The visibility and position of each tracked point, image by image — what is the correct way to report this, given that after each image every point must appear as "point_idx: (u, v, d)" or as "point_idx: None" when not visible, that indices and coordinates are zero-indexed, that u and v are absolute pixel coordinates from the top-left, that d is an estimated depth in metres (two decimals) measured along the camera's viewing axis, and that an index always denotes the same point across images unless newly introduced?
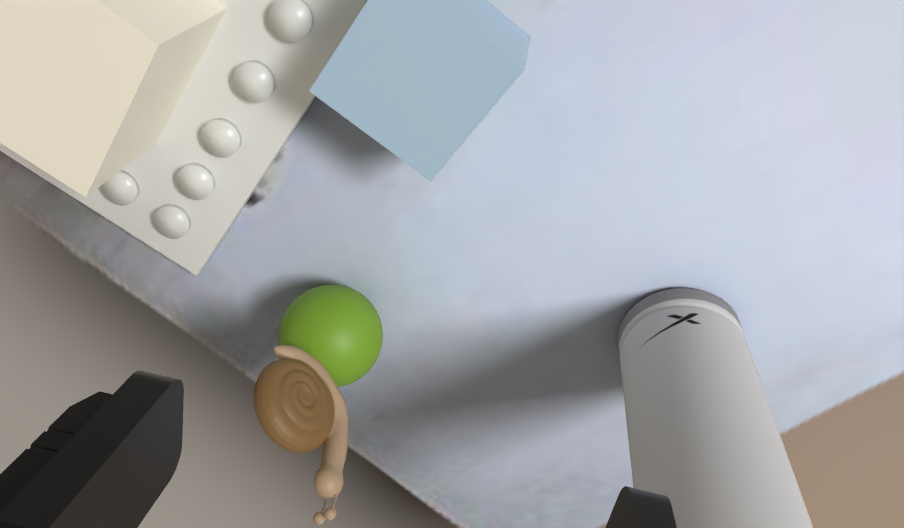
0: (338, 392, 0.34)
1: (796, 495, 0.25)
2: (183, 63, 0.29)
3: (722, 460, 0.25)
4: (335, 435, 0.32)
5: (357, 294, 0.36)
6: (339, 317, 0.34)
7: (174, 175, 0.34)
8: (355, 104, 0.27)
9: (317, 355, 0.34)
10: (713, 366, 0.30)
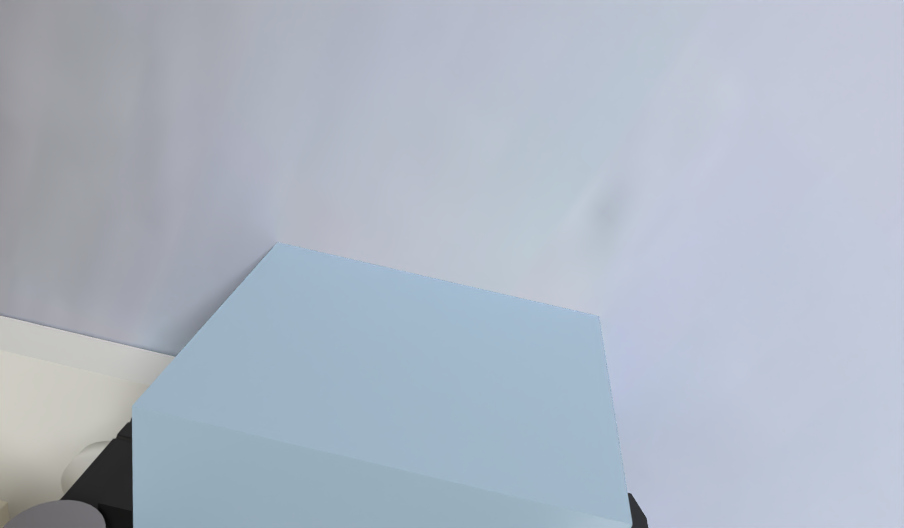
0: None
1: None
2: None
3: None
4: None
5: None
6: None
7: None
8: None
9: None
10: None
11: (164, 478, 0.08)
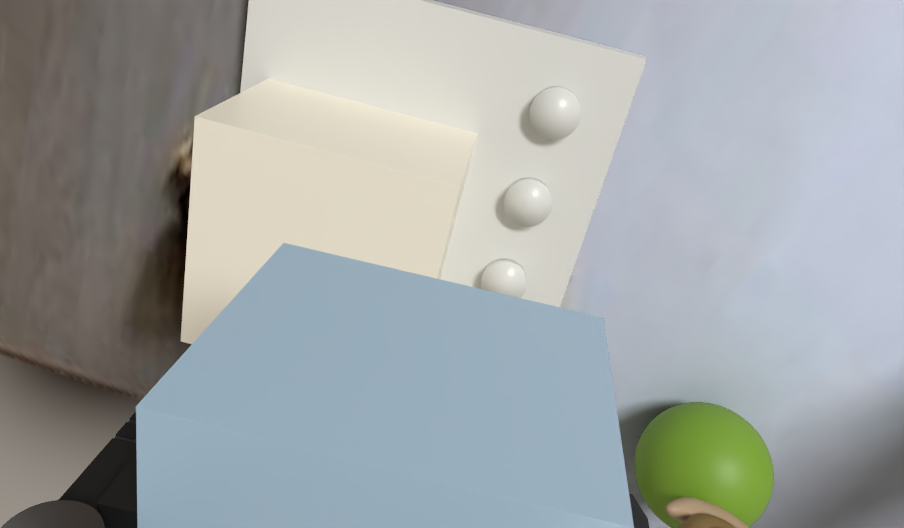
0: None
1: None
2: (457, 209, 0.24)
3: None
4: None
5: (716, 406, 0.28)
6: (719, 442, 0.26)
7: None
8: None
9: (714, 500, 0.26)
10: None
11: (167, 477, 0.09)
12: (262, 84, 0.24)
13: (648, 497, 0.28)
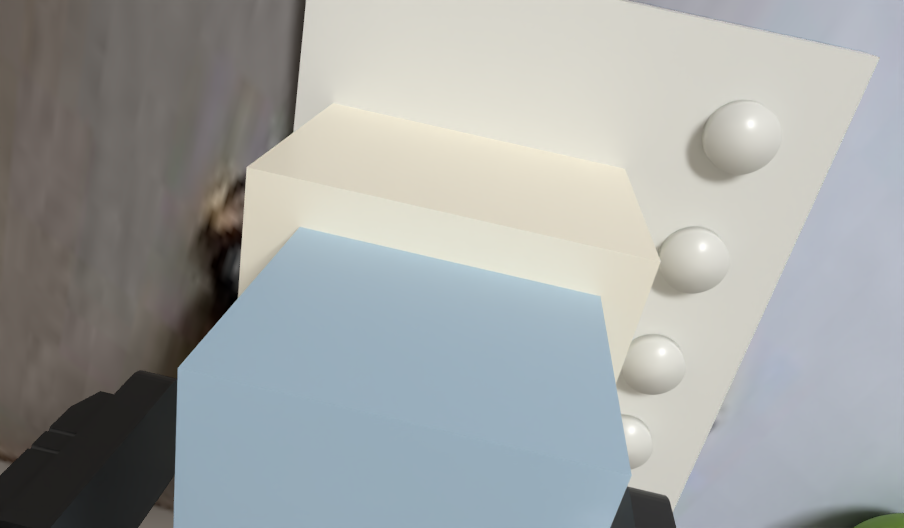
0: None
1: None
2: None
3: None
4: None
5: None
6: None
7: None
8: None
9: None
10: None
11: (204, 435, 0.09)
12: (328, 111, 0.18)
13: None
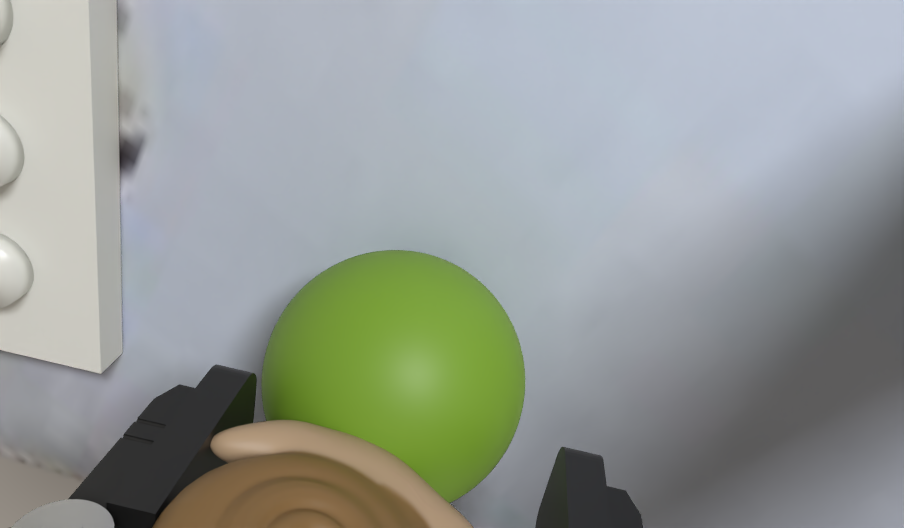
0: (445, 508, 0.11)
1: None
2: None
3: None
4: None
5: (413, 252, 0.14)
6: (376, 304, 0.12)
7: None
8: None
9: (352, 426, 0.12)
10: None
11: None
12: None
13: None
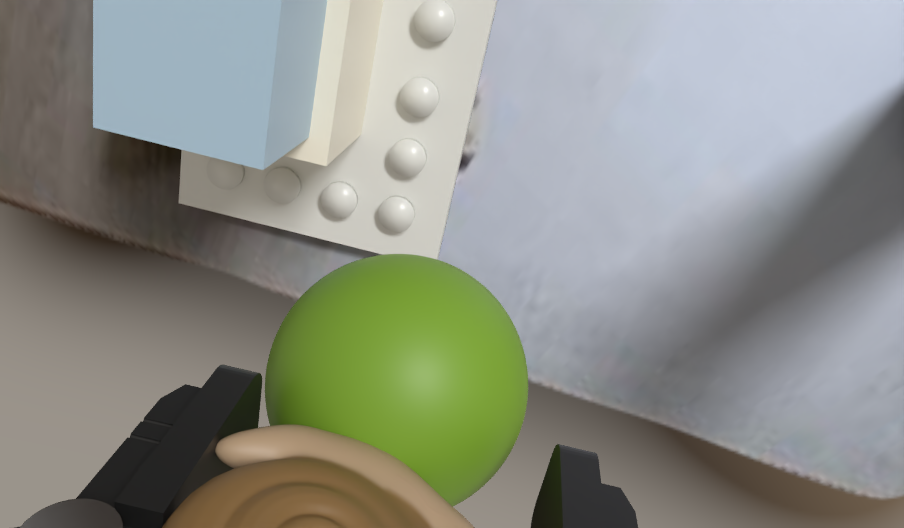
0: (450, 512, 0.11)
1: None
2: (370, 16, 0.29)
3: None
4: None
5: (416, 255, 0.14)
6: (379, 309, 0.12)
7: (385, 162, 0.34)
8: (143, 118, 0.23)
9: (357, 430, 0.12)
10: None
11: None
12: None
13: None
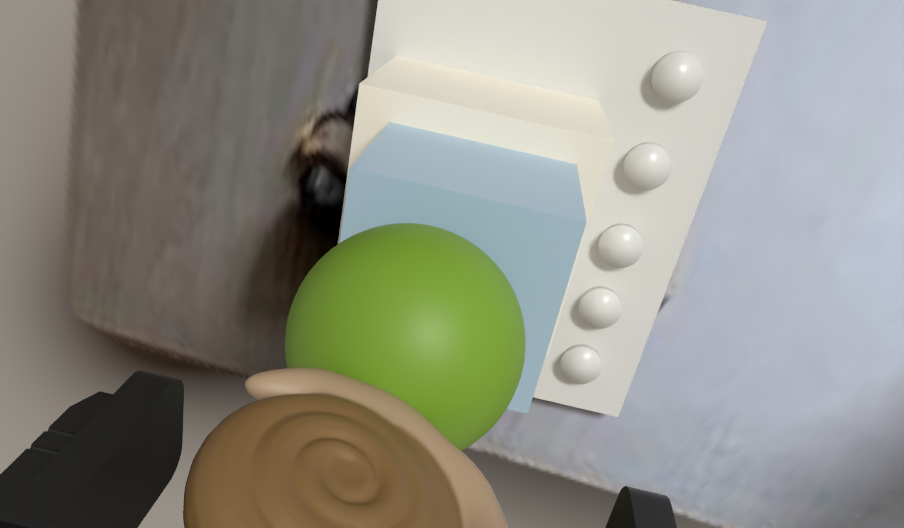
0: (453, 450, 0.13)
1: None
2: None
3: None
4: None
5: (426, 225, 0.15)
6: (394, 268, 0.14)
7: (572, 311, 0.30)
8: None
9: (370, 376, 0.13)
10: None
11: (359, 208, 0.17)
12: (395, 60, 0.26)
13: None
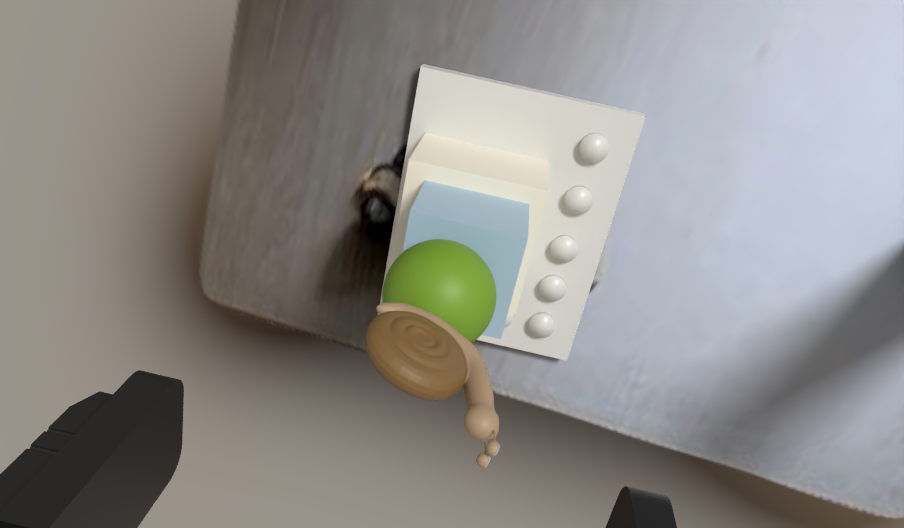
0: (462, 337, 0.30)
1: None
2: None
3: None
4: (473, 376, 0.28)
5: (449, 240, 0.32)
6: (436, 260, 0.31)
7: (535, 290, 0.47)
8: None
9: (426, 307, 0.30)
10: None
11: (414, 230, 0.34)
12: (424, 137, 0.43)
13: None
